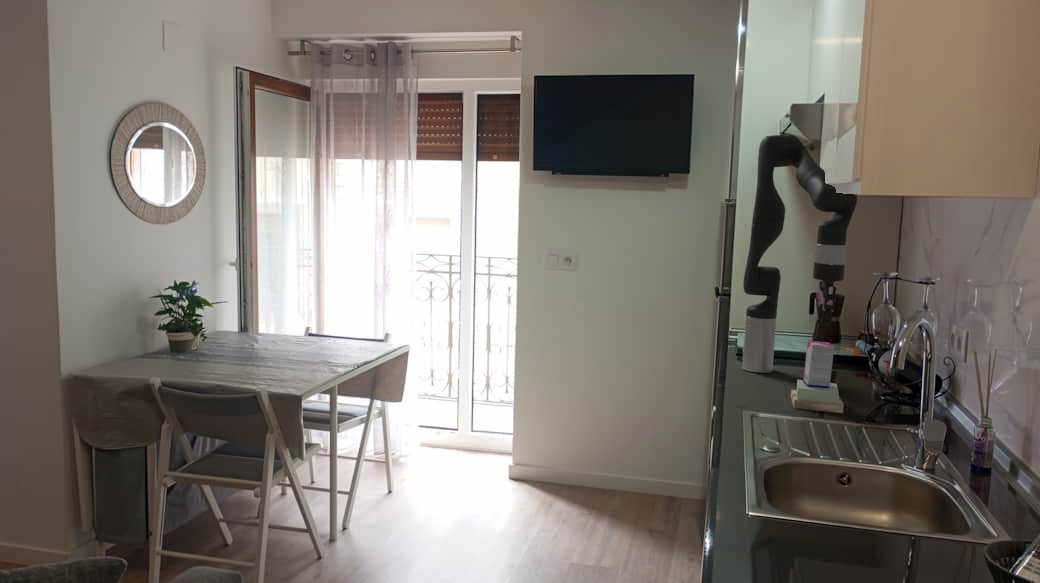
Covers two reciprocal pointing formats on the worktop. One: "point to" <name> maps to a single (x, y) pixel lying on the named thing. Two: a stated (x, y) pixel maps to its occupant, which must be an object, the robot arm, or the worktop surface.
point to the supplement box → (818, 364)
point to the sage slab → (817, 393)
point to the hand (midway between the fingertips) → (824, 322)
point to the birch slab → (816, 404)
